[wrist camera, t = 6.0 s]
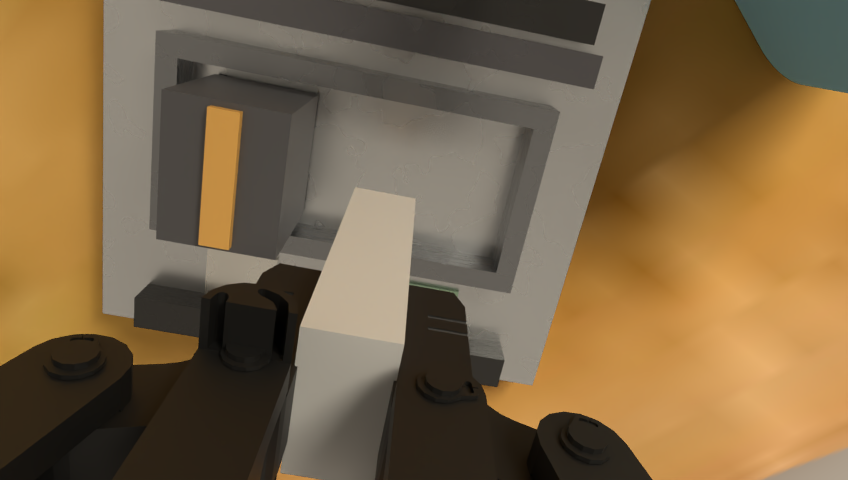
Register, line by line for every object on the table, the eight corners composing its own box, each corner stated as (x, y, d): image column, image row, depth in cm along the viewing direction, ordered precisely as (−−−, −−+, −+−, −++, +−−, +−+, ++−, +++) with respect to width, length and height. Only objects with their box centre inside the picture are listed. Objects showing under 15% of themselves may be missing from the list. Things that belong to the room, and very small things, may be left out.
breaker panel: (130, -131, 22) (79, -156, 19) (639, -19, 24) (674, -24, 20) (123, 293, 29) (83, 331, 25) (525, 362, 30) (538, 406, 27)
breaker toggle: (215, 74, 23) (157, 90, 18) (318, 94, 23) (289, 116, 18) (206, 196, 24) (152, 242, 20) (303, 213, 25) (272, 263, 20)
